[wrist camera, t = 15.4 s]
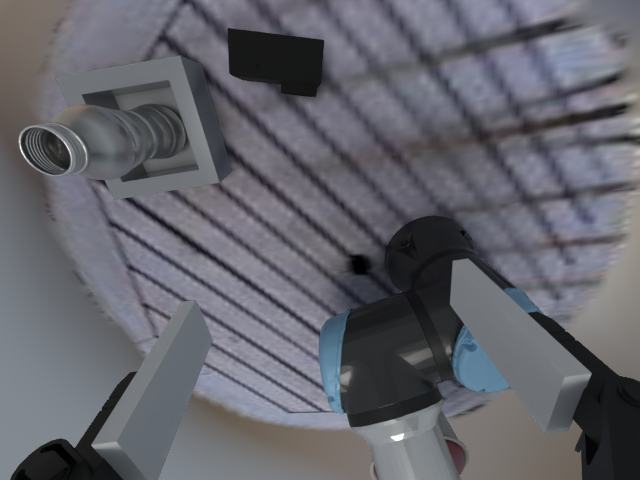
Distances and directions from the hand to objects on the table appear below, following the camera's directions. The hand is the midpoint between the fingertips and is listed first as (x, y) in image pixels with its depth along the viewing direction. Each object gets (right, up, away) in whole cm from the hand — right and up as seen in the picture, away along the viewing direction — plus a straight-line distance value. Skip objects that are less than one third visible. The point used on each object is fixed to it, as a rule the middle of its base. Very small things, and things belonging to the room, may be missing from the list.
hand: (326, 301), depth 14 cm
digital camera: (-6, +26, +23) cm, 35 cm away
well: (-22, +19, +25) cm, 38 cm away
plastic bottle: (-22, +18, +24) cm, 37 cm away
